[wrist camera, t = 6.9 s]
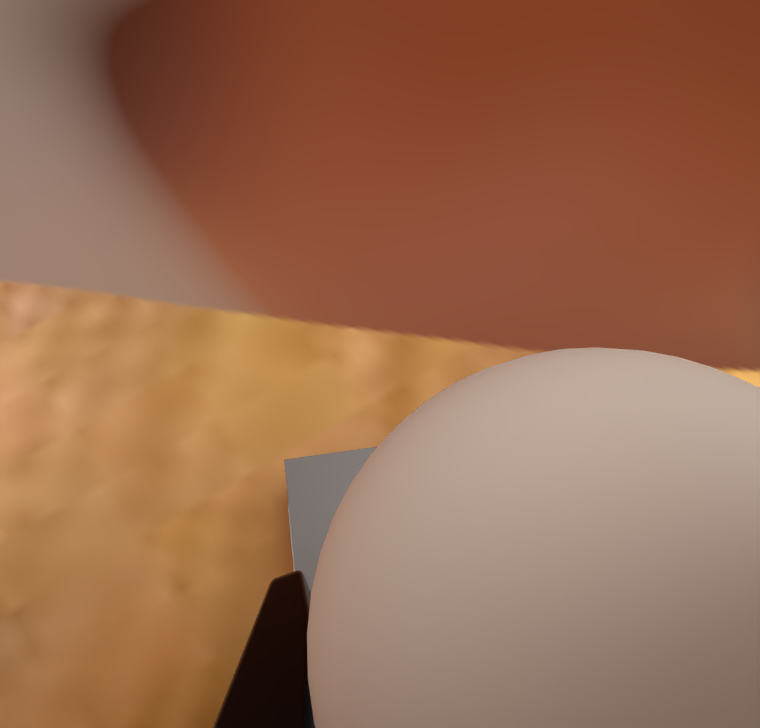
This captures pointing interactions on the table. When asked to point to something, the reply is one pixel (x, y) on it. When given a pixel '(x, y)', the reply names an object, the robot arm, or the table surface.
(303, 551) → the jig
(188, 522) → the table surface
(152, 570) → the table surface
